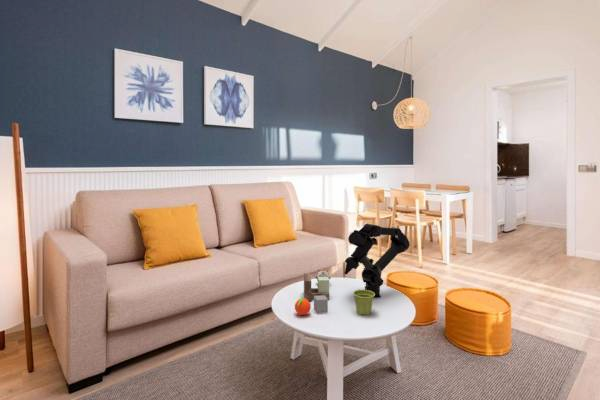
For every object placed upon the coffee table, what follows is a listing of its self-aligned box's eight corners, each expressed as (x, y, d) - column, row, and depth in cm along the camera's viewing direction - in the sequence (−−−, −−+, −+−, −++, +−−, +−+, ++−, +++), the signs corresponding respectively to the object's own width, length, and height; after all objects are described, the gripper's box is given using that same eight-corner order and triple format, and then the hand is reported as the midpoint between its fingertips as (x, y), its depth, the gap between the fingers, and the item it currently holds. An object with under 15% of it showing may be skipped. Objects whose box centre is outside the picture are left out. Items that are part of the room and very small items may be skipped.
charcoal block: (324, 308, 164) (324, 295, 163) (327, 312, 159) (327, 299, 158) (313, 308, 163) (313, 296, 162) (316, 313, 158) (316, 300, 157)
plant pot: (361, 318, 153) (361, 298, 152) (348, 310, 161) (348, 291, 160) (378, 314, 157) (379, 295, 156) (365, 306, 166) (365, 288, 165)
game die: (325, 290, 197) (335, 275, 198) (324, 290, 189) (335, 274, 190) (311, 281, 199) (321, 265, 200) (310, 280, 191) (320, 264, 192)
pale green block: (327, 294, 180) (328, 277, 179) (328, 298, 175) (329, 280, 174) (317, 294, 180) (318, 277, 179) (318, 298, 175) (318, 280, 174)
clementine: (305, 320, 151) (305, 303, 150) (290, 316, 154) (290, 300, 153) (313, 313, 158) (313, 297, 157) (299, 310, 161) (299, 294, 160)
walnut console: (327, 292, 183) (327, 273, 182) (329, 301, 171) (329, 281, 170) (303, 292, 183) (303, 273, 182) (304, 301, 171) (304, 281, 170)
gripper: (374, 261, 163) (355, 288, 166) (379, 255, 181) (362, 280, 184) (354, 247, 166) (335, 273, 169) (361, 242, 184) (344, 266, 187)
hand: (345, 273), depth 177 cm, fingers closed
